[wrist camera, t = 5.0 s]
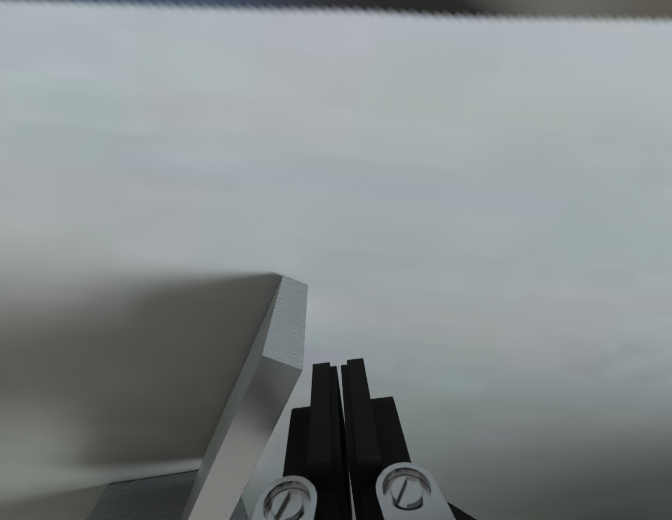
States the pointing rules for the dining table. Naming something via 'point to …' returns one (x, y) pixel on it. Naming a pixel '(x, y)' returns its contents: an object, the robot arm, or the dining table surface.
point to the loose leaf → (252, 406)
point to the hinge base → (151, 499)
